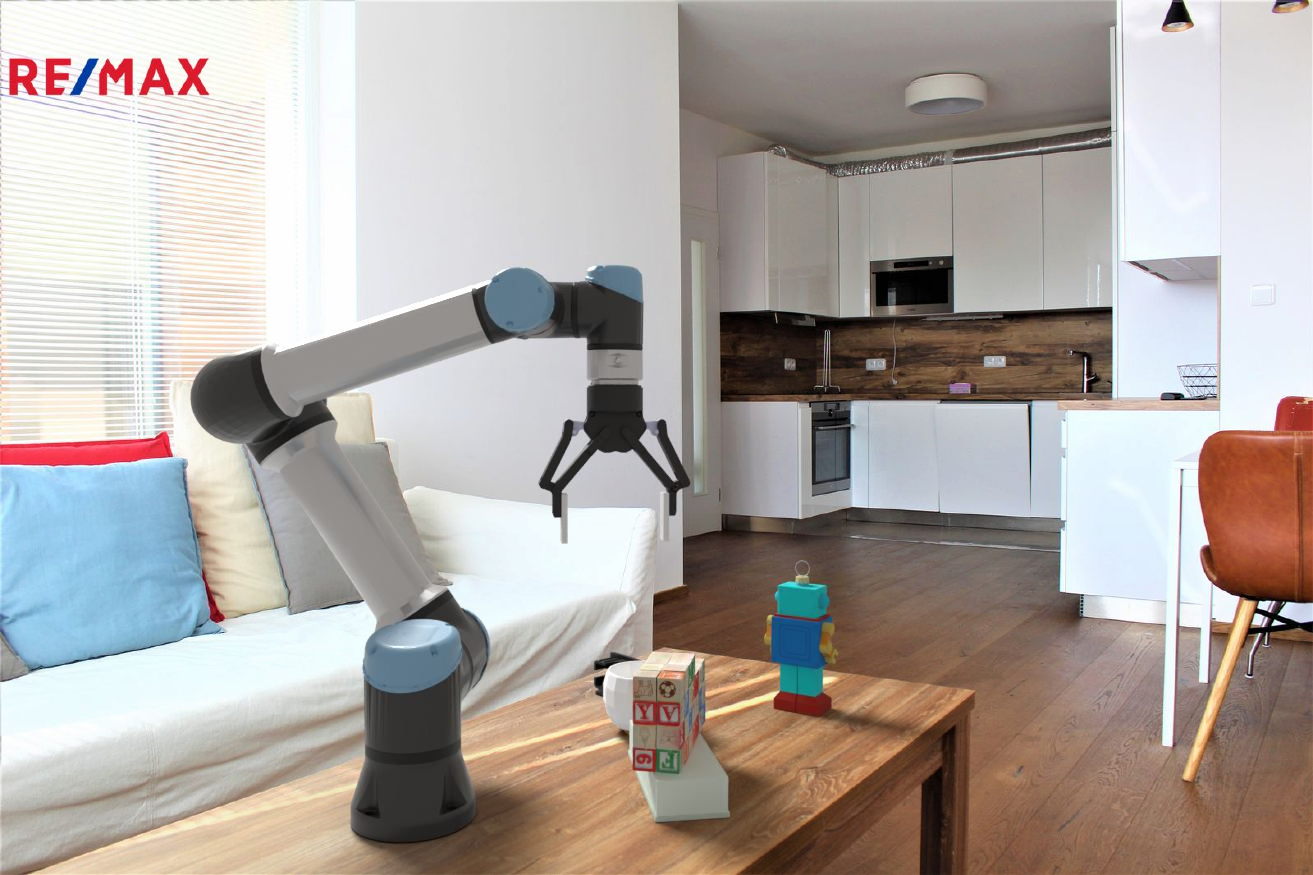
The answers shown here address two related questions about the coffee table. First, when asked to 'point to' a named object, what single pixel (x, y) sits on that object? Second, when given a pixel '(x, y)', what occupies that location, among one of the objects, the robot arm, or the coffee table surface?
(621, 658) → the end cap
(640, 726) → the stack of blocks
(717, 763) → the plinth
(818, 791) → the coffee table surface
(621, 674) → the cup
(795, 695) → the toy robot
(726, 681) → the coffee table surface
